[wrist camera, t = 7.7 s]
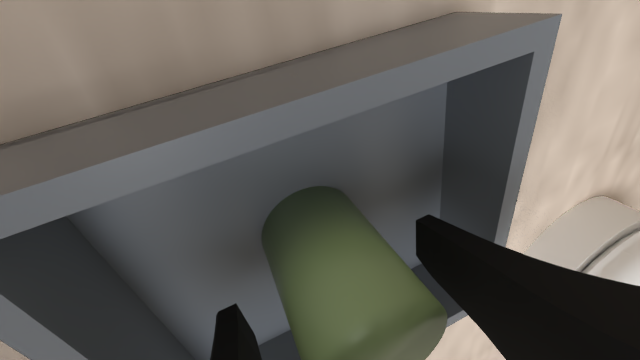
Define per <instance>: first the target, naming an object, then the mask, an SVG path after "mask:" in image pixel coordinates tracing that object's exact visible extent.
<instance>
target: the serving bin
mask: <svg viewBox="0 0 640 360" xmlns="http://www.w3.org/2000/svg"><path fill="white" fill-rule="evenodd" d="M561 17H562V14H540V13H480V12H455V13H451V14H448V15H445V16H441V17H438V18H434V19H431V20H427V21H424V22H421V23H417V24H414V25H410V26H407V27H403V28H400V29H397V30H393V31H390V32H386V33H383V34H379V35H376V36H373V37H369V38H366V39H362V40H359V41H355V42H352V43H349V44H345V45H342V46H338V47H335V48H331V49H328V50H325V51H321V52H318V53H314V54H311V55H307V56H304V57H300V58H297V59H294V60H290V61H287V62H283V63H280V64H276V65H273V66H270V67H266V68H263V69H259V70H256V71H252V72H249V73H246V74H242V75H239V76H235V77H232V78H228V79H225V80H222V81H218V82H215V83H211V84H208V85H204V86H201V87H198V88H194V89H191V90H187V91H184V92H180V93H177V94H173V95H170V96H167V97H163V98H160V99H156V100H153V101H149V102H146V103H143V104H139V105H136V106H132V107H129V108H125V109H122V110H119V111H115V112H112V113H108V114H105V115H101V116H98V117H95V118H91V119H88V120H84V121H81V122H77V123H74V124H71V125H67V126H64V127H60V128H57V129H53V130H50V131H47V132H43V133H40V134H36V135H33V136H29V137H26V138H22V139H19V140H16V141H12V142H9V143H5V144H2V145H0V340H1V341H2V342H4V343H5V344H7V345H8V346H10V347H12V348H13V349H15V350H16V351H18V352H20V353H21V354H23V355H24V356H26V357H27V358H29V359H31V360H210V357H211V351H212V345H213V339H214V332H215V324H216V315H217V313H218V311H220V310H222V309H225V308H227V307H229V306H231V305H233V304H235V303H236V304H237V305H238V307H239V309H240V310H241V312H242V314H243V315H244V317H245V319H246V320H247V322H248V324H249V325H250V327H251V329H252V330H253V332H254V334H255V336H256V340H257V343H258V347H259V350H260V354H261V358H262V360H301V359H300V356H299V353H298V350H297V347H296V344H295V341H294V338H293V335H292V332H291V329H290V326H289V323H288V320H287V317H286V314H285V311H284V308H283V305H282V302H281V299H280V296H279V293H278V290H277V287H276V284H275V281H274V278H273V275H272V272H271V269H270V266H269V263H268V260H267V257H266V254H265V251H264V248H263V246H262V229H263V226H264V223H265V221H266V219H267V217H268V216H269V214H270V213H271V211H272V210H273V209H274V208H275V207H276V206H277V205H278V204H279V203H280V202H281V201H282V200H283V199H285V198H286V197H288V196H289V195H291V194H293V193H295V192H297V191H299V190H302V189H305V188H309V187H315V186H327V187H332V188H335V189H338V190H340V191H341V192H343V193H344V194H345V195H346V196H347V197H348V198H349V199H350V200H351V201H352V202H353V203H354V205H355V206H356V207H357V208H358V209H359V210H360V211H361V213H362V214H363V215H364V216H365V217H366V218H367V220H368V221H369V222H370V223H371V224H372V225H373V226H374V228H375V229H376V230H377V231H378V232H379V233H380V234H381V236H382V237H383V238H384V239H385V240H386V241H387V242H388V244H389V245H390V246H391V247H392V248H393V249H394V251H395V252H396V253H397V254H398V255H399V256H400V257H401V259H402V260H403V261H404V262H405V263H406V264H407V265H408V267H409V268H410V269H411V270H412V271H413V272H414V274H415V275H416V276H417V277H418V278H419V279H420V280H421V282H422V283H423V284H424V285H425V286H426V287H427V288H428V290H429V291H430V292H431V293H432V294H433V295H434V296H435V298H436V299H437V300H438V301H439V302H440V303H441V305H442V306H443V307H444V308H445V310H446V312H447V325H446V327H448V326H450V325H452V324H453V323H455V322H457V321H459V320H460V319H462V318H464V317H466V316H467V315H468V314H467V313H466V312H465V311H464V310H463V309H462V308H461V307H460V306H459V305H458V304H457V303H456V302H455V301H454V300H453V299H452V298H451V297H450V296H449V295H448V293H447V292H446V291H445V290H444V289H443V288H442V287H441V286H440V285H439V284H438V283H437V282H436V281H435V280H434V278H433V277H432V276H431V275H430V274H429V272H428V271H427V270H426V268H425V267H424V266H423V264H422V263H421V262H420V260H419V259H418V257H417V256H416V220H417V219H419V218H421V217H424V216H426V215H428V214H430V215H432V216H434V217H437V218H439V219H441V220H443V221H445V222H448V223H450V224H452V225H454V226H456V227H459V228H461V229H463V230H465V231H467V232H470V233H472V234H474V235H477V236H479V237H481V238H484V239H486V240H488V241H491V242H493V243H496V244H498V245H501V246H503V247H505V246H506V242H507V238H508V234H509V230H510V226H511V222H512V218H513V214H514V210H515V205H516V201H517V197H518V193H519V189H520V185H521V181H522V177H523V173H524V168H525V164H526V160H527V156H528V152H529V148H530V144H531V140H532V136H533V132H534V127H535V123H536V119H537V115H538V111H539V107H540V103H541V99H542V95H543V91H544V86H545V82H546V78H547V74H548V70H549V66H550V62H551V58H552V54H553V50H554V45H555V41H556V37H557V33H558V29H559V25H560V21H561Z"/></svg>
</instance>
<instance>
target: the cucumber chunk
mask: <svg viewBox="0 0 640 360" xmlns="http://www.w3.org/2000/svg"><path fill="white" fill-rule="evenodd" d="M262 246H263V248H264V251H265V254H266V257H267V260H268V263H269V266H270V269H271V272H272V275H273V278H274V281H275V284H276V287H277V290H278V293H279V296H280V299H281V302H282V305H283V308H284V311H285V314H286V317H287V320H288V323H289V326H290V329H291V332H292V335H293V338H294V341H295V344H296V347H297V350H298V353H299V356H300V359H301V360H425V359H426V358H427V357H428V356H429V355H430V353H431V352H432V351H433V350H434V348H435V347H436V346H437V344H438V343H439V341H440V339H441V338H442V336H443V334H444V331H445V328H446V325H447V312H446V310H445V308H444V307H443V306H442V305H441V303H440V302H439V301H438V300H437V299H436V298H435V296H434V295H433V294H432V293H431V292H430V291H429V290H428V288H427V287H426V286H425V285H424V284H423V283H422V282H421V280H420V279H419V278H418V277H417V276H416V275H415V274H414V272H413V271H412V270H411V269H410V268H409V267H408V265H407V264H406V263H405V262H404V261H403V260H402V259H401V257H400V256H399V255H398V254H397V253H396V252H395V251H394V249H393V248H392V247H391V246H390V245H389V244H388V242H387V241H386V240H385V239H384V238H383V237H382V236H381V234H380V233H379V232H378V231H377V230H376V229H375V228H374V226H373V225H372V224H371V223H370V222H369V221H368V220H367V218H366V217H365V216H364V215H363V214H362V213H361V211H360V210H359V209H358V208H357V207H356V206H355V205H354V203H353V202H352V201H351V200H350V199H349V198H348V197H347V196H346V195H345V194H344V193H343V192H341V191H340V190H338V189H335V188H332V187H327V186H315V187H309V188H305V189H302V190H299V191H297V192H295V193H293V194H291V195H289V196H288V197H286V198H285V199H283V200H282V201H281V202H280V203H279V204H278V205H277V206H276V207H275V208H274V209H273V210H272V211H271V213H270V214H269V216H268V217H267V219H266V221H265V223H264V226H263V229H262Z"/></svg>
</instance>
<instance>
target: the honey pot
mask: <svg viewBox="0 0 640 360" xmlns="http://www.w3.org/2000/svg"><path fill="white" fill-rule="evenodd" d="M524 255H527V256H530V257H533V258H536V259H539V260H542V261H545V262H548V263H551V264H554V265H558V266H561V267H564V268H568V269H571V270H575V271H578V272H582V273H586V274H590V275H594V276H597V277H601V278H605V279H610V280H614V281H618V282H623V283H627V284H632V285H637V286H640V211H638V210H636V209H634V208H632V207H629V206H627V205H625V204H623V203H620V202H618V201H616V200H614V199H611V198H609V197H605V196H599V197H593V198H590V199H588V200H586V201H584V202H581V203H579V204H577V205H576V206H574V207H573V208H571V209H570V210H568V211H567V212H565V213H564V214H562V215H561V216H560V217H559V218H557V219H556V220H555V221H554V222H553V223H552V224H551V225H549V226H548V227H547V228H546V229H545V230H544V231H543V232H542V233H541V234H540V235H539V236H538V237H537V238H536V239H535V241H534V242H533V243H532V244H531V245H530V246H529V247H528V249H527V250H526V251H525V253H524Z"/></svg>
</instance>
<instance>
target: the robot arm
mask: <svg viewBox="0 0 640 360" xmlns="http://www.w3.org/2000/svg"><path fill="white" fill-rule="evenodd" d="M416 256H417V257H418V259H419V260H420V262H421V263H422V264H423V266H424V267H425V268H426V270H427V271H428V272H429V274H430V275H431V276H432V277H433V278H434V280H435V281H436V282H437V283H438V284H439V285H440V286H441V287H442V288H443V289H444V290H445V291H446V292H447V293H448V295H449V296H450V297H451V298H452V299H453V300H454V301H455V302H456V303H457V304H458V305H459V306H460V307H461V308H462V309H463V310H464V311H465V312H466V313H467V314H468V315H469V316H470V318H471V319H472V320H473V321H474V322H475V323H476V324H477V325H478V326H479V327H480V328H481V329H482V331H483V332H484V333H485V334H486V335H487V336H488V338H489V339H490V340H491V341H492V343H493V344H494V345H495V346H496V348H497V349H498V350H499V351H500V353H501V354H502V355H503V356H504V358H505V359H506V360H640V286H637V285H632V284H627V283H623V282H618V281H614V280H610V279H605V278H601V277H597V276H594V275H590V274H586V273H582V272H578V271H575V270H571V269H568V268H564V267H561V266H558V265H554V264H551V263H548V262H545V261H542V260H539V259H536V258H533V257H530V256H527V255H524V254H522V253H519V252H516V251H514V250H511V249H508V248H506V247H503V246H501V245H498V244H496V243H493V242H491V241H488V240H486V239H484V238H481V237H479V236H477V235H474V234H472V233H470V232H467V231H465V230H463V229H461V228H459V227H456V226H454V225H452V224H450V223H448V222H445V221H443V220H441V219H439V218H437V217H434V216H432V215H430V214H428V215H426V216H424V217H421V218H419V219H417V220H416ZM210 360H262V358H261V354H260V350H259V347H258V343H257V340H256V336H255V334H254V332H253V330H252V329H251V327H250V325H249V324H248V322H247V320H246V319H245V317H244V315H243V314H242V312H241V310H240V309H239V307H238V305H237V304H236V303H235V304H233V305H231V306H229V307H227V308H225V309H222V310H220V311H218V313H217V315H216V324H215V332H214V339H213V345H212V351H211V357H210Z"/></svg>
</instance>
